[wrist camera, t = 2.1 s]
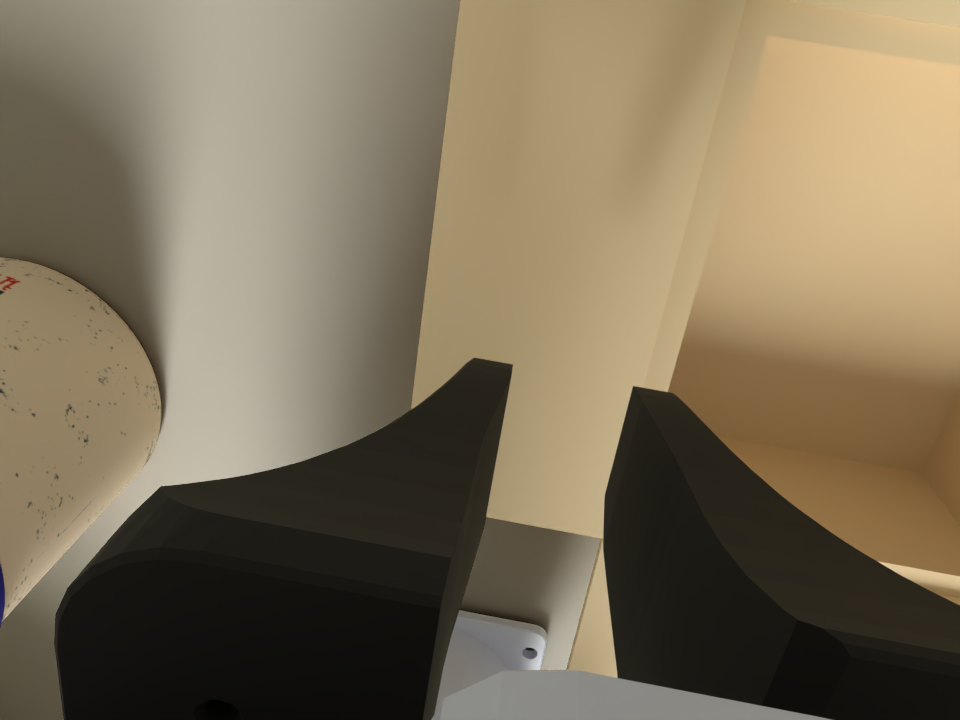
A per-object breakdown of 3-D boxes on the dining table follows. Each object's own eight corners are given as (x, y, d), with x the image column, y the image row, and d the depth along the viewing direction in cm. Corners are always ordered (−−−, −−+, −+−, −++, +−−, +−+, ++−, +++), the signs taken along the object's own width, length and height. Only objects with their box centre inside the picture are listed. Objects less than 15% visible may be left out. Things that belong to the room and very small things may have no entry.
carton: (868, 611, 26) (983, 853, 18) (418, 527, 26) (358, 729, 19) (1250, -194, 16) (1800, -350, 9) (530, -300, 17) (496, -526, 9)
